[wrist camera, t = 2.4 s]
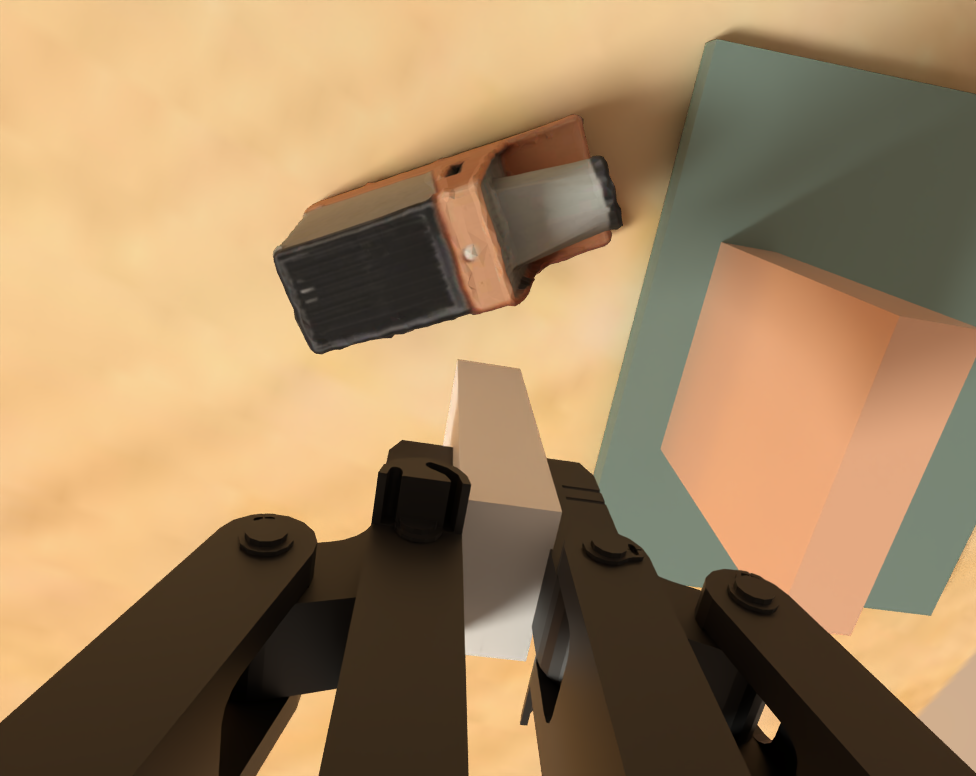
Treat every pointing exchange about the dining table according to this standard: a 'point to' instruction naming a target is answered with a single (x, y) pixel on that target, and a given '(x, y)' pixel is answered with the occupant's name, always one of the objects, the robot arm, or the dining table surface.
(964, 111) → the mat
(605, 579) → the robot arm
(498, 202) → the electronic device
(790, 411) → the tile
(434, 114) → the dining table surface
